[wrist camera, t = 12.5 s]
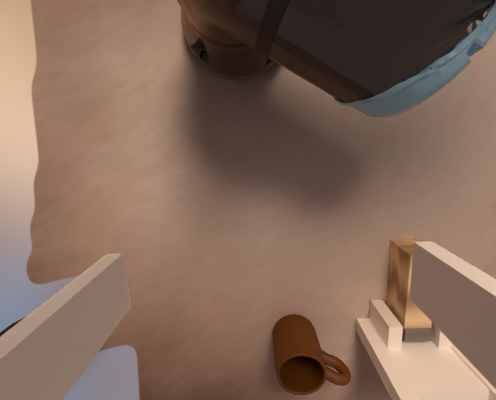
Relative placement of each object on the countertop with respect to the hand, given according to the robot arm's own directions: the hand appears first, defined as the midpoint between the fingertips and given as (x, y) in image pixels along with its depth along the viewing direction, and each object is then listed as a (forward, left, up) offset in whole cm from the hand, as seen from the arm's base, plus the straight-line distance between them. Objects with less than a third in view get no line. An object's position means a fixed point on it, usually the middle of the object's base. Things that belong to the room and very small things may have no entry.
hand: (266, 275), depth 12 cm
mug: (+29, +7, -32) cm, 44 cm away
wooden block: (+19, +23, -32) cm, 43 cm away
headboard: (+25, +23, -32) cm, 46 cm away
